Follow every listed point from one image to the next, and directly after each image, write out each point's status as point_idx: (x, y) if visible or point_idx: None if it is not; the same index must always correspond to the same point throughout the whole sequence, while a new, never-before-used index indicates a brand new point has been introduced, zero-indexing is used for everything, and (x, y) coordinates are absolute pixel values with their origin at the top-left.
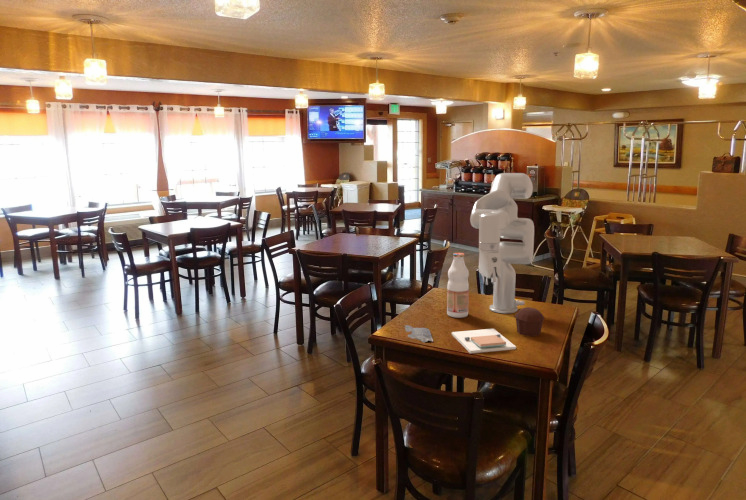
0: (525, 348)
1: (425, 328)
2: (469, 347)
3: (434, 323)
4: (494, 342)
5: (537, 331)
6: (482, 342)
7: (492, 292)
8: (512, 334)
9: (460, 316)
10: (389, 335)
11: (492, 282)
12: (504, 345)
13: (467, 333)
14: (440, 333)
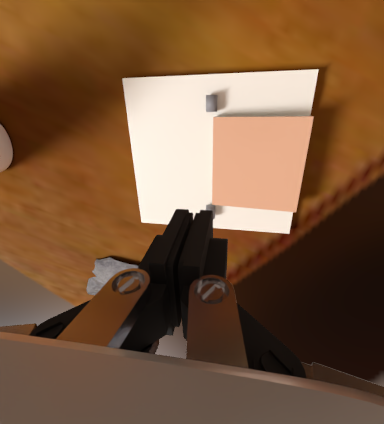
0: (325, 22)
1: (107, 265)
2: (265, 225)
3: (63, 226)
4: (298, 161)
5: None
6: (279, 197)
7: (211, 217)
8: (169, 11)
9: (9, 144)
10: None
11: (267, 341)
12: (290, 112)
13: (157, 186)
14: (133, 240)
